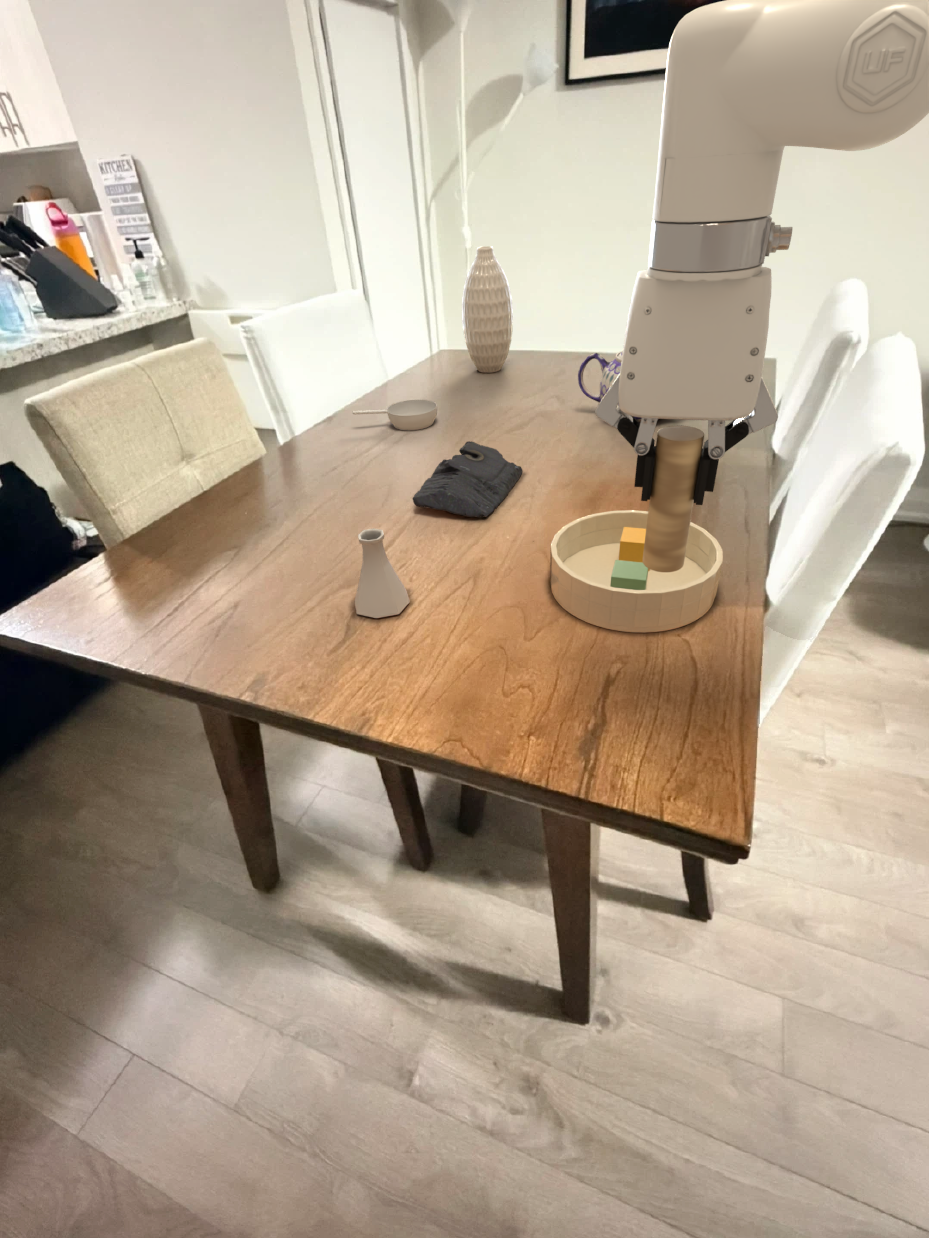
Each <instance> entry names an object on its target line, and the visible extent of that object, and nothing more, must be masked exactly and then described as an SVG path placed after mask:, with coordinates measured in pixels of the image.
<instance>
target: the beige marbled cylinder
mask: <svg viewBox="0 0 929 1238" xmlns="http://www.w3.org/2000/svg"><path fill="white" fill-rule="evenodd" d="M704 440H705V433H704V431H703V430H701V429H699V428H698V427H693V426H691V425H669V426H664V427H662V428H660V429H658V431H657V433H656V440H655V446H656V449H655V462H654V470H653V479H652V487H651V496H650V500H648V509H647V511H648V518H647V527H646V535H645V544H644V552H643V564H644V565H645V566H646V567H647V568H649V569H651V570H654V571H657V572H674V571H677V570H679V569H681V568H682V567H683V565H684V559H685V553H686V547H687V540H688V534H689V528H690V522H692V515H693V510H694V504H695V503H694V494H695V488H696V481H697V475H698V469H699V463H700V456H701V453H702V448H703V445H704V442H705V441H704Z"/></svg>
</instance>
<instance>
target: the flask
mask: <svg viewBox="0 0 929 1238" xmlns="http://www.w3.org/2000/svg"><path fill="white" fill-rule="evenodd" d="M357 538H358V543H359V544H360V545H361V547H362V564H361V569H360V574H359V579H358V584H357V588H356V594H355V599H354V606H355V612H356V615H359V616H364V617H369V618H374V619H379V618H385V617H391V616H396V615H400V614H401V613H402V611H404V609H405V608H406V607H407V606H408V604H410V602H411V600H410V597H409V594H408V591H407V589H406V586H405V585H404V583H403V581H402V580H401V579H400V577H399V575H398V573H397V572H396V571H395V569H394V566H393V565H392V563H391V561H390V560H389V557H388V555H387V553H386V550H385V547H384V542H383V540H384V539H385V533H384V530H383V529H380V528H368V529H363V530H362V531H361V532H359V533H358V534H357Z"/></svg>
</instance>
